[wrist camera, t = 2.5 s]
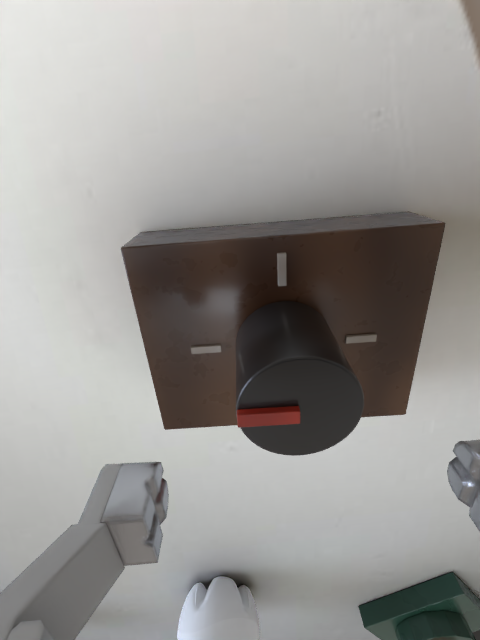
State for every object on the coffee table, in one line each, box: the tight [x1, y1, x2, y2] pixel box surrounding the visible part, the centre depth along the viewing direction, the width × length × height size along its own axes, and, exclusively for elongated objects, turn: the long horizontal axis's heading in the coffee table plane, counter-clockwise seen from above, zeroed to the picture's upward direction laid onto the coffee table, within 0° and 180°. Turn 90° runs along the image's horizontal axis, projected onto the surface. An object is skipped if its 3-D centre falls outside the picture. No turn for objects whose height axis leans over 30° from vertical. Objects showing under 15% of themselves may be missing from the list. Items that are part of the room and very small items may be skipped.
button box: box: [359, 572, 480, 640], centre depth 31 cm, size 10×8×4 cm
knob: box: [236, 301, 364, 455], centre depth 13 cm, size 4×4×5 cm
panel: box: [121, 212, 445, 430], centre depth 16 cm, size 13×10×3 cm
